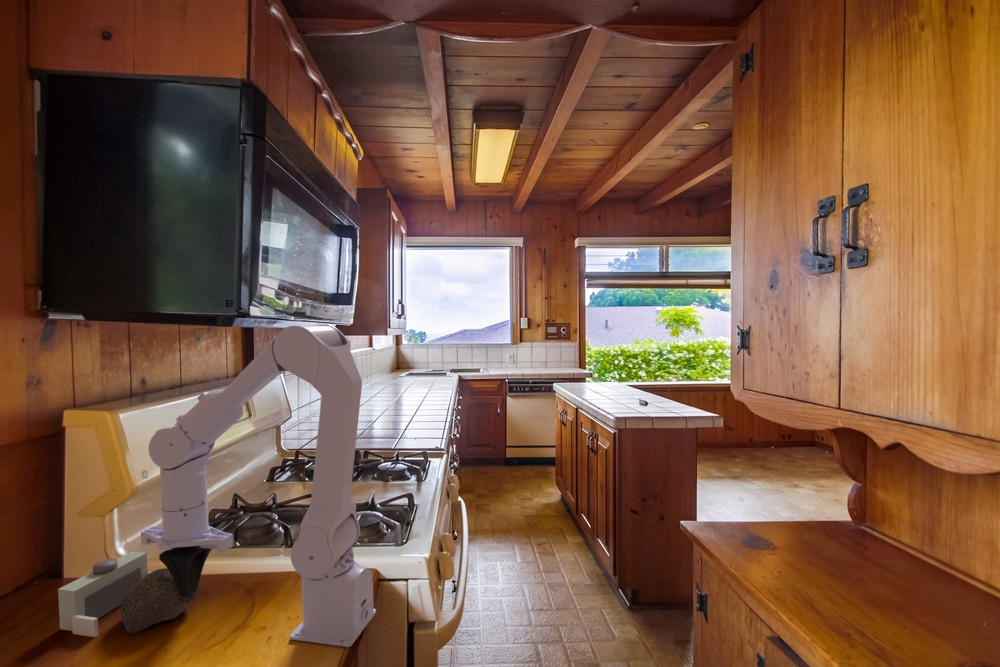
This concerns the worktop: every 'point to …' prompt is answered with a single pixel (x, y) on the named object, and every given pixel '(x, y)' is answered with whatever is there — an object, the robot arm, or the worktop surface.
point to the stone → (152, 601)
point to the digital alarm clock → (99, 592)
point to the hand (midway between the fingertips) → (188, 592)
